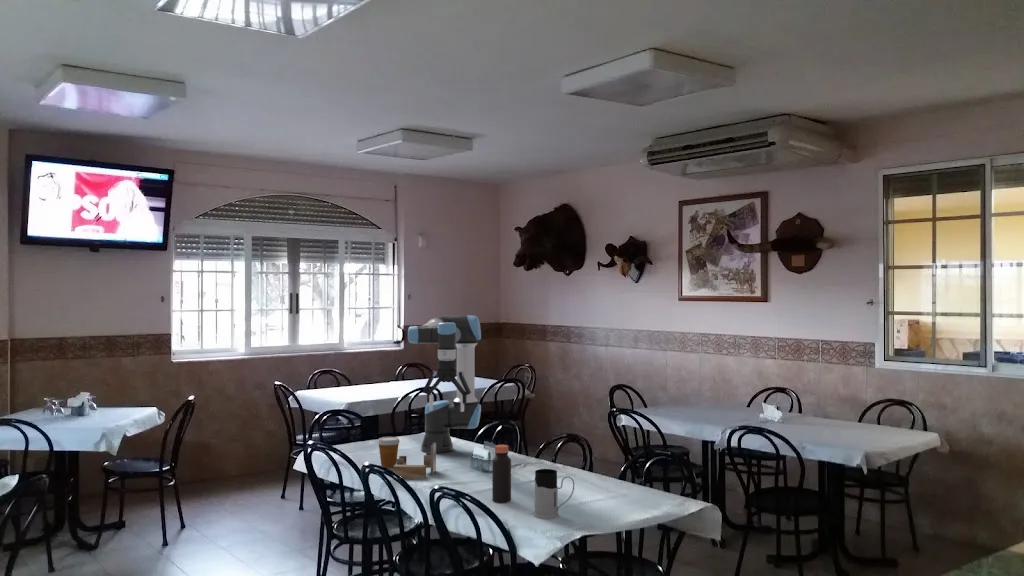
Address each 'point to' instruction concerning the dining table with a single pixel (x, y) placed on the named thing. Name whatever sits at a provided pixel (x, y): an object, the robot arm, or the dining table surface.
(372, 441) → the dining table surface
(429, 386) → the robot arm
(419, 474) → the rail
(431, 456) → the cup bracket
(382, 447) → the disposable coffee cup
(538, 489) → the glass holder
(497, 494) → the bottle
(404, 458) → the saddle
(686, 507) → the dining table surface
